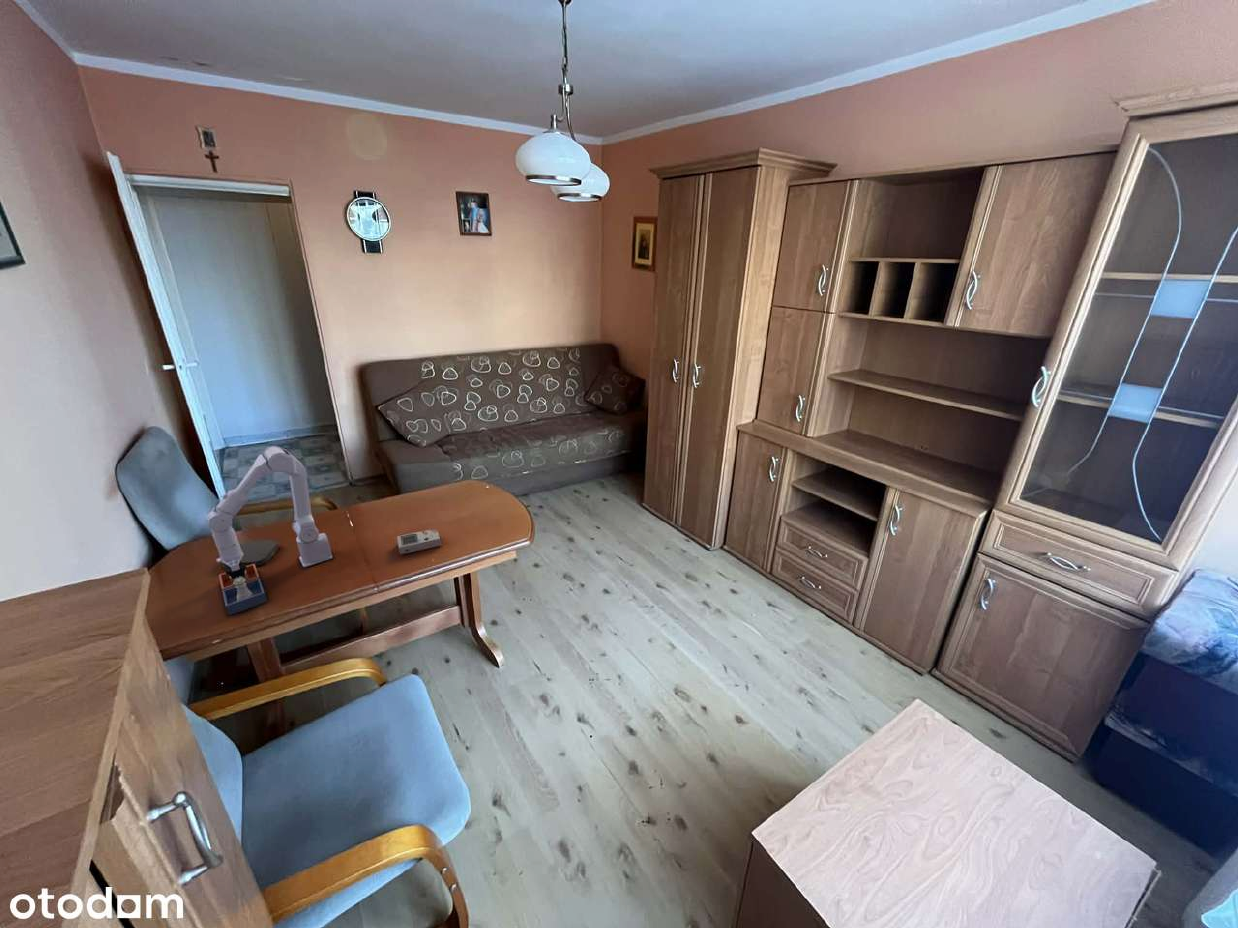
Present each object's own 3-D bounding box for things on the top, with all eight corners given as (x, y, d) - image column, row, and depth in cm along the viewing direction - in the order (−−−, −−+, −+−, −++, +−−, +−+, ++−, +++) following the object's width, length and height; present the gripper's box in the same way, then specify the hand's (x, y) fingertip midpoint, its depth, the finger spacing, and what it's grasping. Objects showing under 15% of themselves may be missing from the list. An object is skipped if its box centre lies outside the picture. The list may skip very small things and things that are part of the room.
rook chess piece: (242, 595, 165) (235, 574, 161) (257, 594, 165) (250, 574, 162) (234, 604, 160) (226, 583, 157) (249, 603, 161) (241, 582, 158)
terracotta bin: (257, 571, 177) (254, 563, 176) (262, 585, 170) (259, 576, 169) (221, 583, 171) (218, 574, 170) (225, 598, 164) (221, 589, 163)
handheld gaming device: (441, 546, 193) (440, 538, 191) (400, 556, 187) (398, 547, 185) (438, 536, 200) (436, 527, 199) (398, 544, 194) (396, 535, 193)
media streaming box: (218, 570, 178) (216, 563, 176) (240, 548, 191) (238, 541, 190) (264, 567, 180) (261, 559, 179) (282, 545, 193) (280, 538, 192)
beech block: (248, 577, 173) (244, 566, 171) (250, 583, 170) (246, 572, 168) (232, 582, 170) (228, 571, 169) (233, 589, 167) (229, 578, 166)
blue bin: (262, 586, 170) (259, 578, 168) (267, 601, 162) (264, 592, 161) (225, 599, 163) (222, 590, 162) (229, 615, 156) (225, 606, 155)
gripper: (210, 539, 167) (222, 573, 172) (214, 558, 157) (227, 593, 162) (236, 532, 171) (247, 565, 176) (241, 550, 161) (253, 585, 166)
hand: (239, 578), depth 170 cm, fingers open, 7 cm apart
